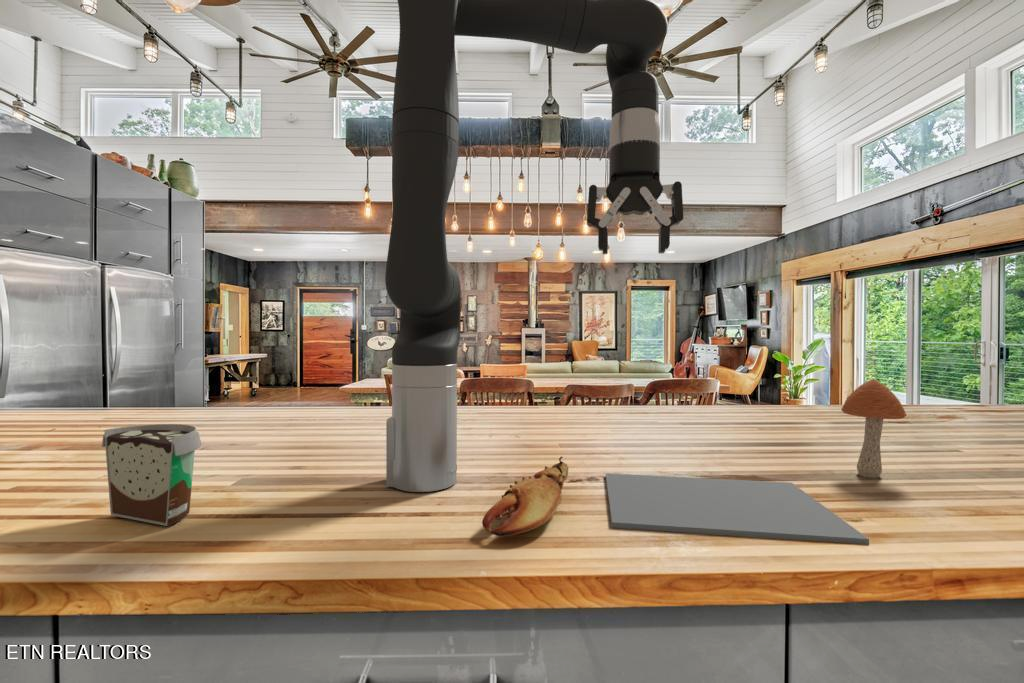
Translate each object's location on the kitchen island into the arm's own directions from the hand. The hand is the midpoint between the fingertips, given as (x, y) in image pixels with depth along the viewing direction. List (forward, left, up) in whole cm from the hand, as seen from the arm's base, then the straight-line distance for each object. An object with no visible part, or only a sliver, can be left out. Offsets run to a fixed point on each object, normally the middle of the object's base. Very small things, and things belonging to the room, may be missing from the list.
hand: (633, 253), depth 74 cm
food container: (-57, -26, -34) cm, 71 cm away
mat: (+9, -13, -34) cm, 37 cm away
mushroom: (+36, +4, -34) cm, 50 cm away
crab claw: (-9, -9, -31) cm, 34 cm away
